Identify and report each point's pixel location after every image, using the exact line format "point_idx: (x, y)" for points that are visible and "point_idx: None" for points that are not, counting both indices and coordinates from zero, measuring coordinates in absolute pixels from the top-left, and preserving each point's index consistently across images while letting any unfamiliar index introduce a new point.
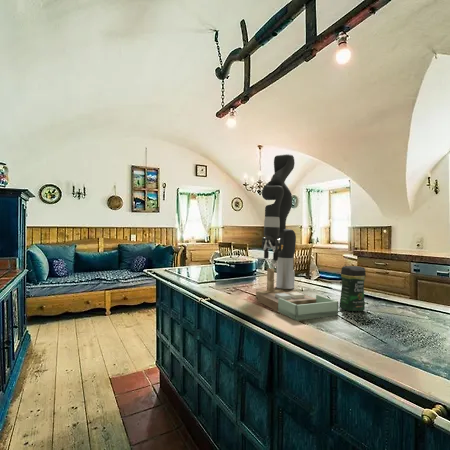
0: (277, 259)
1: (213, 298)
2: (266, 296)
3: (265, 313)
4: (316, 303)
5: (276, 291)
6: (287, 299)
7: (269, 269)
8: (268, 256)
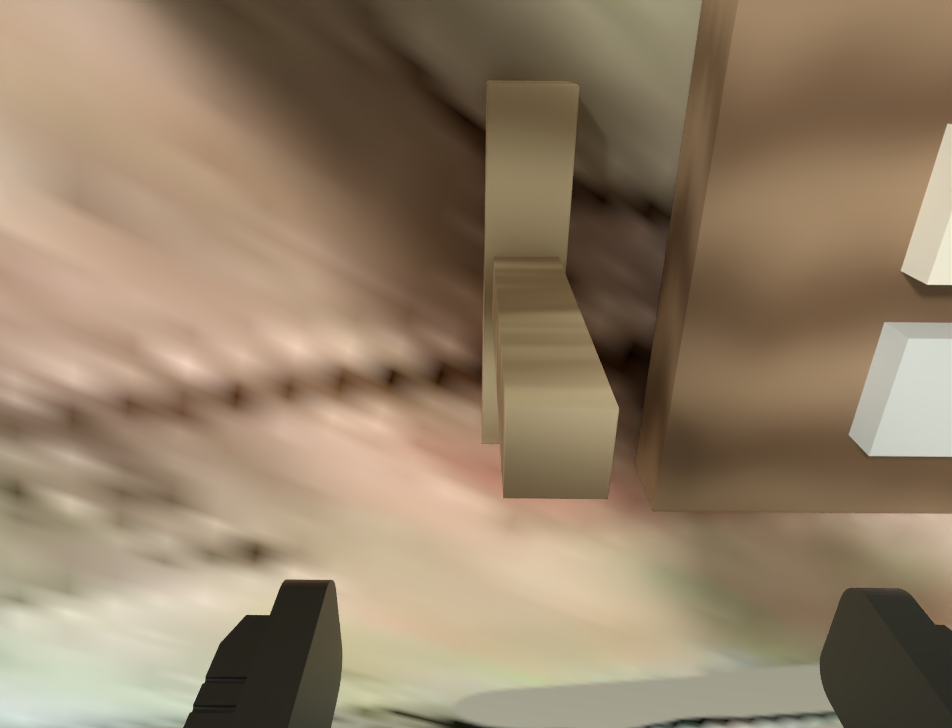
0: (911, 609)
1: (407, 699)
2: (778, 491)
3: (937, 562)
4: None
5: (566, 216)
6: None
7: (586, 491)
8: (315, 621)
